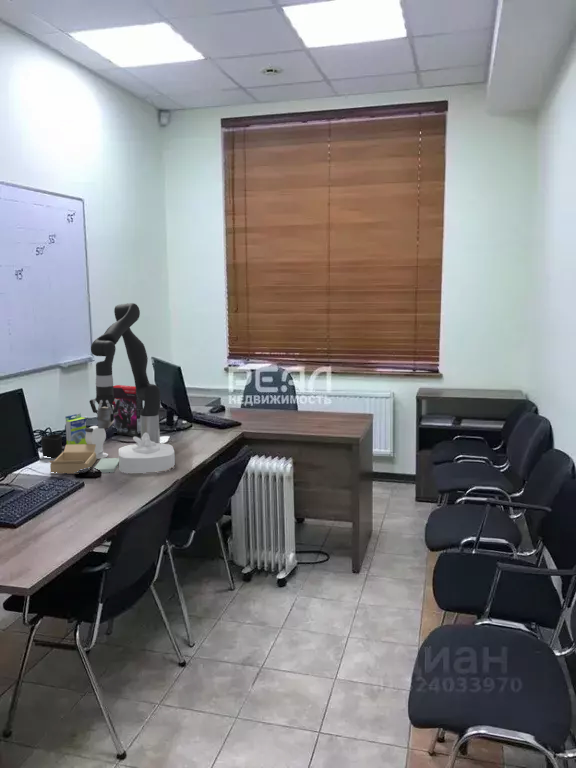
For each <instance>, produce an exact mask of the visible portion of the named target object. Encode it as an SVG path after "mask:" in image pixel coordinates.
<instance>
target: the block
mask: <svg viewBox="0 0 576 768" xmlns="http://www.w3.org/2000/svg"><path fill="white" fill-rule="evenodd" d="M112 406H113V405H112ZM97 410H98V409H97ZM113 410H114V407H113ZM110 414H111V413H110V409H108V407H102V408H101V409H99V410H98V419H97V425H98V428H106V429H110V427H111V426H113V423H114V420H113V421H112V422H110Z"/></svg>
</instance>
